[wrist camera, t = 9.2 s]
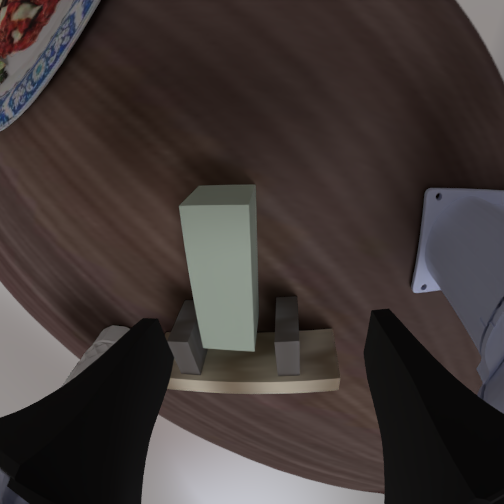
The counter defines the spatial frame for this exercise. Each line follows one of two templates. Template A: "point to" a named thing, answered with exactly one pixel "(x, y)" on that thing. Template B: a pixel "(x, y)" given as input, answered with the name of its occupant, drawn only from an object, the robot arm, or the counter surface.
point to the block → (223, 263)
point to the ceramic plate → (35, 47)
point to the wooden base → (255, 358)
